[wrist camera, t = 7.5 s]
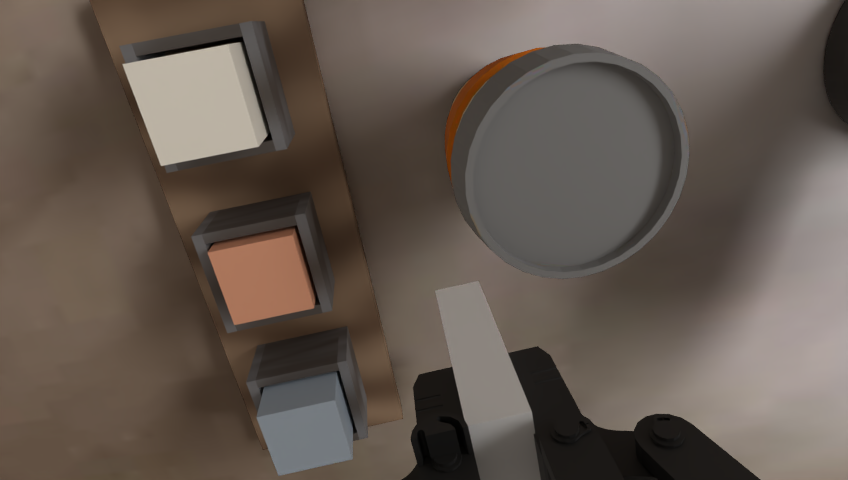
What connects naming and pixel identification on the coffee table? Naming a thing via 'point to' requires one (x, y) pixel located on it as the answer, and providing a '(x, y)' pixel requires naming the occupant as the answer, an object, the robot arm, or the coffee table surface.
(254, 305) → the terracotta button
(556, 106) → the reusable coffee cup
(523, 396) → the robot arm
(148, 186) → the coffee table surface
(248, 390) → the console
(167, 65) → the cream button
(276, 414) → the slate button
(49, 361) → the coffee table surface
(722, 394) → the coffee table surface
